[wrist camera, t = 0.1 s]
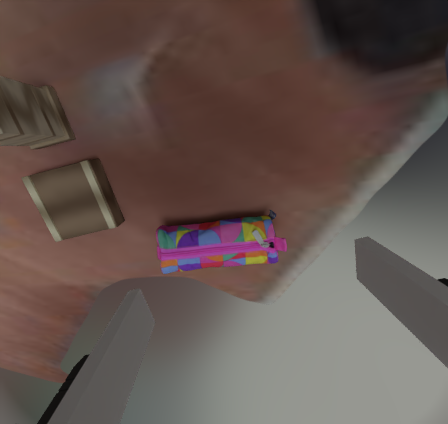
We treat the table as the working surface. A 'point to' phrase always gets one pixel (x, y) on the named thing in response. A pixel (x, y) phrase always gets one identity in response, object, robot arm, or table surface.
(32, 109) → the wooden block tower
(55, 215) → the dock
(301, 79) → the table surface
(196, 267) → the pencil case
